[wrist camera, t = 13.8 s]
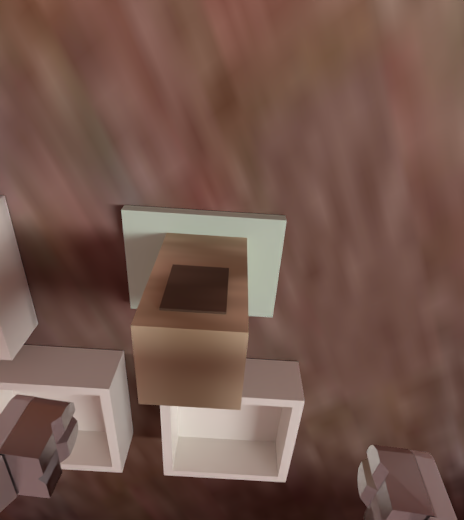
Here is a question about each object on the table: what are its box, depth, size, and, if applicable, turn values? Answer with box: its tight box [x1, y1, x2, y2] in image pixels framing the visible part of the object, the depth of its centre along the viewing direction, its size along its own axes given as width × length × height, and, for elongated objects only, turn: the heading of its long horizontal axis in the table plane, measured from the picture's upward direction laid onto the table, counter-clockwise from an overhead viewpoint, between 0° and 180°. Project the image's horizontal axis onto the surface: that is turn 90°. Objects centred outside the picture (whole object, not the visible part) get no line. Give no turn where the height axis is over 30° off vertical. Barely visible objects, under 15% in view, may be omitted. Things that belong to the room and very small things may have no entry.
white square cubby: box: [0, 345, 133, 473], centre depth 25 cm, size 8×8×3 cm
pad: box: [121, 205, 287, 317], centre depth 20 cm, size 8×6×1 cm
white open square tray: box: [160, 358, 305, 482], centre depth 25 cm, size 8×8×3 cm
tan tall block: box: [131, 233, 249, 410], centre depth 17 cm, size 4×4×7 cm
